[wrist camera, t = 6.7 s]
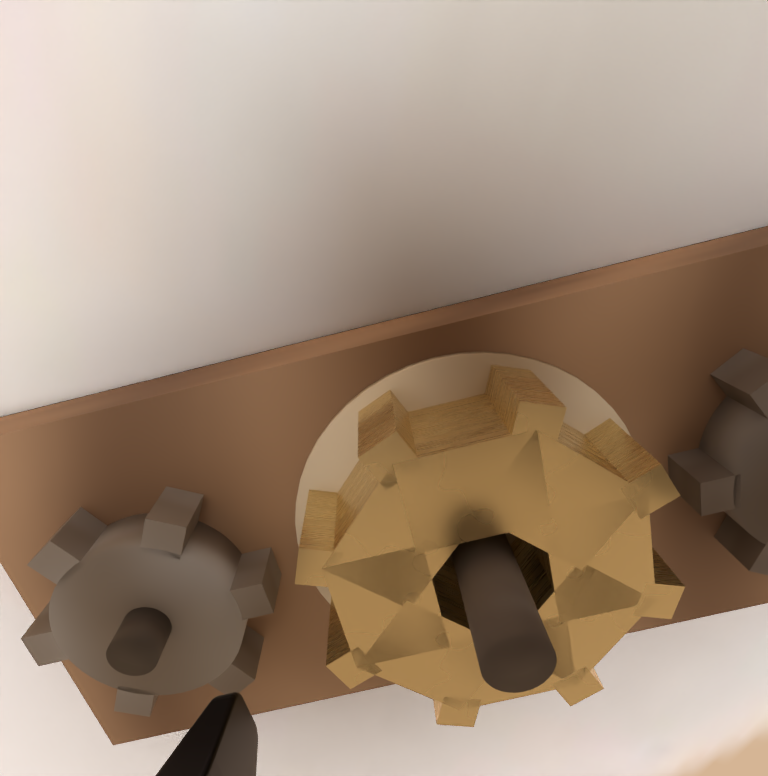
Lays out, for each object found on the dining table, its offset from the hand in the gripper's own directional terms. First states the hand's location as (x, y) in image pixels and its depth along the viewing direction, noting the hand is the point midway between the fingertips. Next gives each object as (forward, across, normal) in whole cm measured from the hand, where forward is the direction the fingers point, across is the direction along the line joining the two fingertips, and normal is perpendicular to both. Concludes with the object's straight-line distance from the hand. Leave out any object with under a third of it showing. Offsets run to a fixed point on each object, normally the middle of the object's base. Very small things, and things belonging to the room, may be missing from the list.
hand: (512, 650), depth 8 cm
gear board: (+5, 0, 0) cm, 5 cm away
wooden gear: (+4, 0, 0) cm, 4 cm away
